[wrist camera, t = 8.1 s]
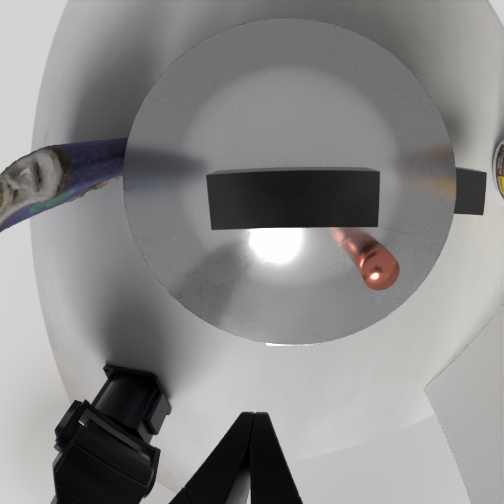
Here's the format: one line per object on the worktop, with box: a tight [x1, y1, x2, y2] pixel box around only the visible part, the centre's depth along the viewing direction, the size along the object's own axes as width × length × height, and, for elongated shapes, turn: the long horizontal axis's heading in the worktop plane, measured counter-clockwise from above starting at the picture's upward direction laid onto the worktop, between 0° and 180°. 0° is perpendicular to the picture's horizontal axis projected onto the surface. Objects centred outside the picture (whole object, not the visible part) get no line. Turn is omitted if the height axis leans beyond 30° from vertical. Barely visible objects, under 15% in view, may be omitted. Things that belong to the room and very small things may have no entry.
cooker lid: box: [123, 18, 456, 345], centre depth 11 cm, size 15×15×3 cm
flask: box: [0, 137, 129, 232], centre depth 13 cm, size 9×3×11 cm, turn 104°
